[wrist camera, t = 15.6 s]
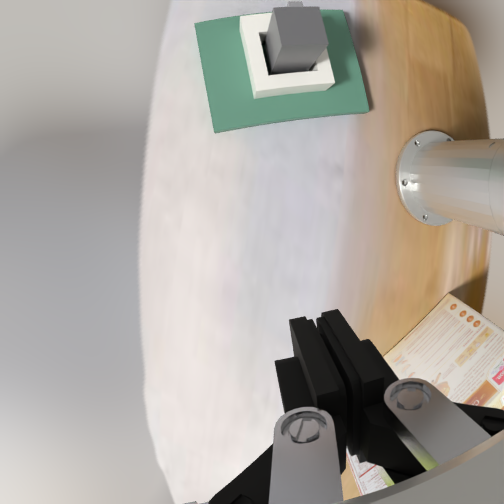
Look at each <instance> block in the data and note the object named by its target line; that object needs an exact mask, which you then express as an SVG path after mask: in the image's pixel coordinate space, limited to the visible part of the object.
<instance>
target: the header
mask: <svg viewBox="0 0 504 504" xmlns="http://www.w3.org/2000/svg"><path fill="white" fill-rule="evenodd" d="M271 15H272V13H264V14H254V15H246V16H240V34H241V39H242V43H243V48H244V52H245V57H246V62H247V66H248V71H249V76H250V81H251V86H252V91H253V96H254V99H257V98H263V97H270V96H278V95H286V94H294V93H304V92H314V91H326V90H327V89H328V88H330V87H331V86H332V85H333V84H334V83H335V80H334V76H333V72H332V68H331V64H330V60H329V56H328V52H327V48H326V49H325V50H324V51H323V52H322V54H321V55H320V56H319V57H318V59H317V60H316V61H315V63H314V64H313V65H312V66H311V68H310V69H309V71H307V72H296V73H286V74H277V75H269V76H268V72H267V67H266V62H265V58H264V54H263V49H262V45H261V44H264V43H265V39H266V35H267V31H268V27H269V23H270V19H271Z"/></svg>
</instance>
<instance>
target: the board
mask: <svg viewBox="0 0 504 504" xmlns="http://www.w3.org/2000/svg"><path fill="white" fill-rule="evenodd" d="M320 12H321V16H322V19H323V23H324V27H325V31H326V35H327V39H328V43H329V45H328V46H327V47H326V48H327V52H328V56H329V60H330V64H331V68H332V72H333V76H334V80H335V83H334V84H333V85H332V86H331V87H330V88H328V89H327V90H326V91H314V92H304V93H294V94H286V95H278V96H270V97H263V98H257V99H254V96H253V91H252V86H251V81H250V76H249V71H248V66H247V62H246V57H245V52H244V48H243V43H242V39H241V34H240V16H246V15H240V16H233V17H227V18H221V19H215V20H209V21H204V22H199V23H194V24H195V29H196V35H197V41H198V46H199V52H200V58H201V63H202V69H203V74H204V80H205V85H206V90H207V96H208V101H209V107H210V112H211V117H212V123H213V128H214V132H215V133H220V132H225V131H230V130H236V129H241V128H247V127H253V126H259V125H265V124H271V123H278V122H285V121H293V120H300V119H309V118H317V117H327V116H338V115H350V114H364V113H367V112H370V111H369V106H368V102H367V97H366V92H365V88H364V84H363V80H362V75H361V71H360V67H359V64H358V60H357V56H356V52H355V49H354V45H353V42H352V38H351V35H350V31H349V28H348V25H347V22H346V19H345V15H344V12H343V10H320ZM266 13H272V12H266ZM256 14H264V13H256ZM248 15H254V14H248ZM261 45H262V49H263V47H264V44H261ZM263 54H264V49H263ZM264 58H265V54H264ZM265 62H266V59H265ZM266 67H267V65H266ZM308 71H309V70H308ZM267 72H268V70H267Z"/></svg>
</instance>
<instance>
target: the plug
mask: <svg viewBox="0 0 504 504" xmlns="http://www.w3.org/2000/svg"><path fill="white" fill-rule="evenodd" d="M328 45H329V43H328V39H327V35H326V31H325V27H324V23H323V19H322V16H321V12H320V8H319V7H303V3H302V2H288V4H287V7H277V8H273V11H272V15H271V19H270V23H269V27H268V31H267V35H266V39H265V43H264V47H263V49H264V54H265V59H266V65H267V70H268V76H269V75H277V74H286V73H296V72H307V71H308V70H309V69H310V68H311V66H312V65H313V64H314V63H315V61H316V60H317V59H318V57H319V56H320V55H321V54H322V52H323V51H324V50H325V49H326V47H327V46H328Z"/></svg>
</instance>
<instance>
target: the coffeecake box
mask: <svg viewBox="0 0 504 504" xmlns="http://www.w3.org/2000/svg"><path fill="white" fill-rule="evenodd" d="M383 358H384V359H385V361H386V362H387V363H388V365H389V366H390V367H391V369H392V370H393V372H394V373H395V374H396V376H397V377H398V378H399V380H401V379H405V378H420V379H423V380H426V381H428V382H429V383H431V384H432V385H433V386H435V387H436V388H437V389H438V390H439V391H440V392H441V393H443V394H444V395H445V396H446V397H447V398H448V399H449V400H451V401H452V402H456V403H462V404H469V405H476V406H483V407H491V408H498V409H502V410H504V330H502V329H501V328H500V327H498V326H497V325H495V324H494V323H493V322H491V321H490V320H488V319H487V318H485V317H484V316H483V315H481V314H480V313H478V312H477V311H475V310H474V309H472V308H471V307H469V306H468V305H466V304H465V303H463V302H462V301H460V300H459V299H457V298H456V297H454V296H453V295H451V294H449V293H448V294H447V295H446V296H445V297H444V298H443V299H442V300H441V301H440V302H439V304H438V305H437V306H436V307H435V308H434V309H433V310H432V311H431V312H430V313H429V314H428V315H427V316H426V317H425V318H424V319H423V320H422V321H421V322H420V323H419V324H418V325H417V326H416V327H415V328H414V329H413V330H412V331H411V332H410V333H409V334H408V335H406V336H405V337H404V338H403V339H402V340H401V341H400V342H399V343H398V344H397V345H396V346H395V347H393V348H392V349H391V350H390V351H389V352H388V353H387V354H386V355H385V356H383Z"/></svg>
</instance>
